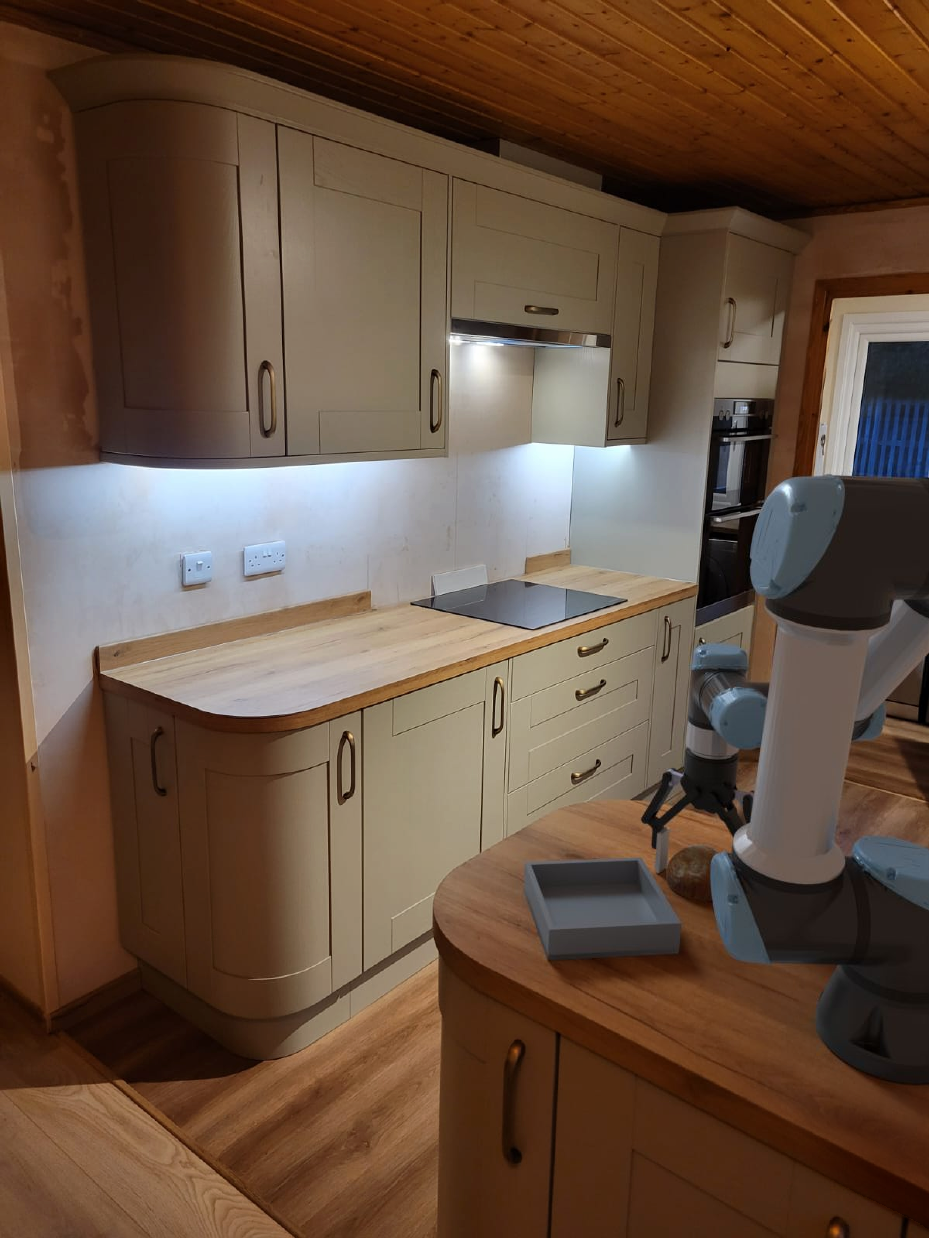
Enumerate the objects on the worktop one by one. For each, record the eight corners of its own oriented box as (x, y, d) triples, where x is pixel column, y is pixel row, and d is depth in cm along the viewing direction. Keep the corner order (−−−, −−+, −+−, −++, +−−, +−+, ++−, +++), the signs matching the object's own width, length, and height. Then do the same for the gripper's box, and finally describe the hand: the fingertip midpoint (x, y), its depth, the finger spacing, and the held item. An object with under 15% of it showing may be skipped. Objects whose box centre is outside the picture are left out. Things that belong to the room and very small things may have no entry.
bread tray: (678, 953, 123) (681, 922, 122) (547, 960, 121) (549, 929, 120) (639, 884, 140) (641, 857, 139) (523, 889, 138) (524, 862, 137)
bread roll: (694, 887, 147) (678, 838, 147) (754, 881, 140) (736, 830, 141) (665, 913, 140) (647, 861, 140) (726, 909, 133) (708, 855, 133)
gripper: (805, 763, 131) (790, 901, 136) (647, 723, 145) (639, 848, 151) (786, 780, 125) (771, 923, 130) (624, 736, 140) (616, 866, 145)
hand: (700, 883), depth 141 cm, fingers open, 12 cm apart
